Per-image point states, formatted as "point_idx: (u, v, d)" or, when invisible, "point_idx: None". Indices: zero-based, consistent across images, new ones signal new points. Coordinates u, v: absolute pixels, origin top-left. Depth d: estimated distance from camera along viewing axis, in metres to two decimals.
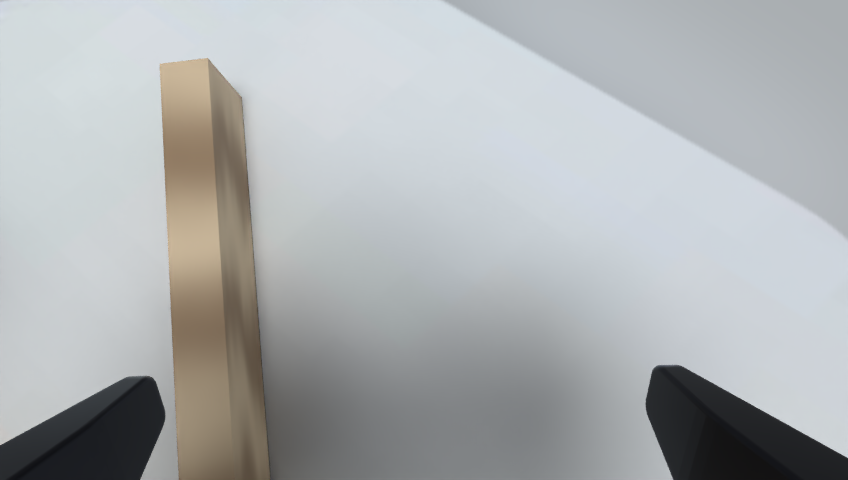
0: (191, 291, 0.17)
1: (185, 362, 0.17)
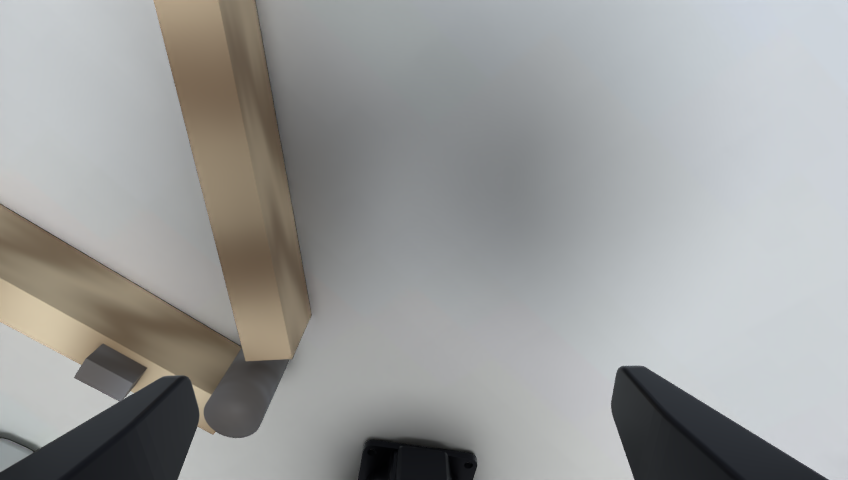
0: (189, 42, 0.14)
1: (198, 127, 0.15)
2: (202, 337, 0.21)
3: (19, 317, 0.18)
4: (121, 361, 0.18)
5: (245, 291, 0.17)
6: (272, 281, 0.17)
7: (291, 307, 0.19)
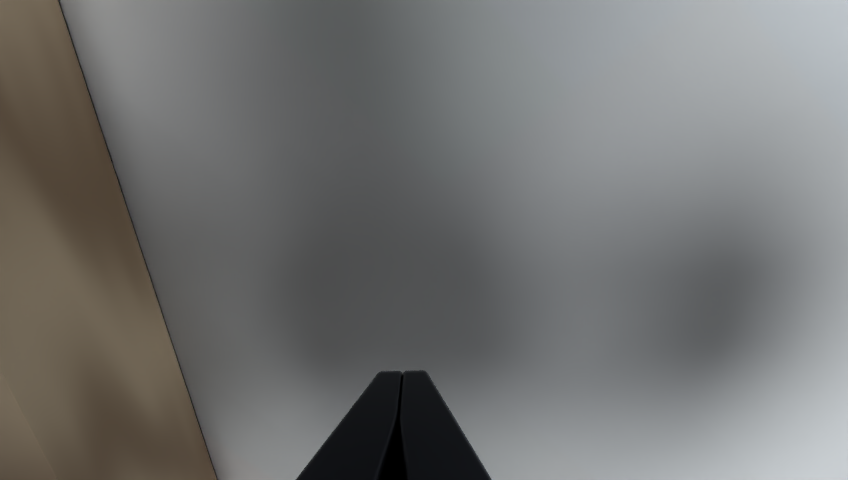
0: None
1: None
2: None
3: None
4: None
5: None
6: None
7: None
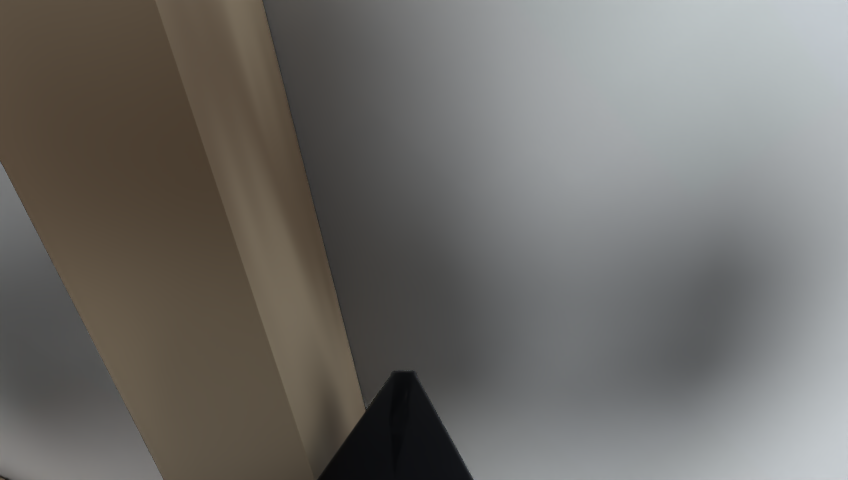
0: None
1: (99, 272, 0.05)
2: None
3: None
4: None
5: None
6: None
7: None
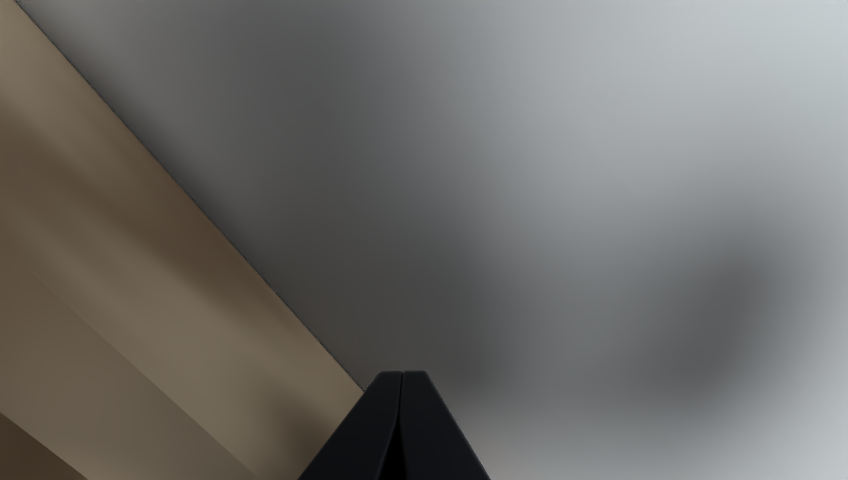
0: None
1: None
2: None
3: None
4: None
5: None
6: None
7: None
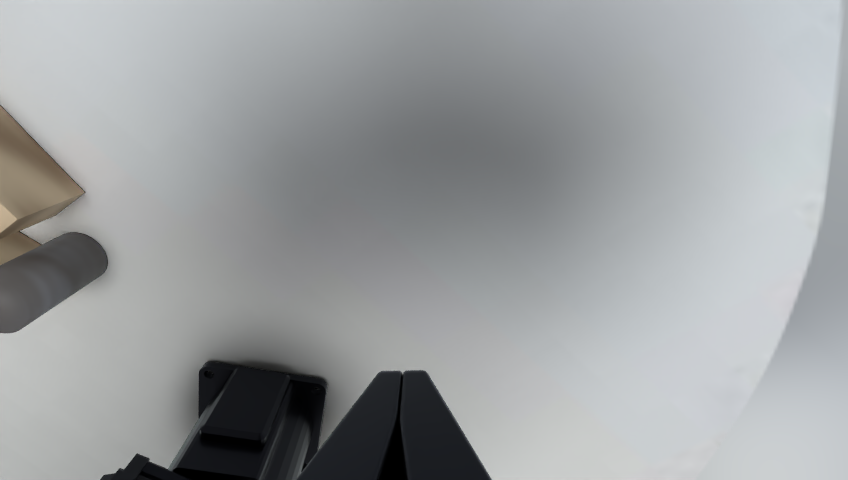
0: None
1: None
2: None
3: None
4: None
5: None
6: None
7: None
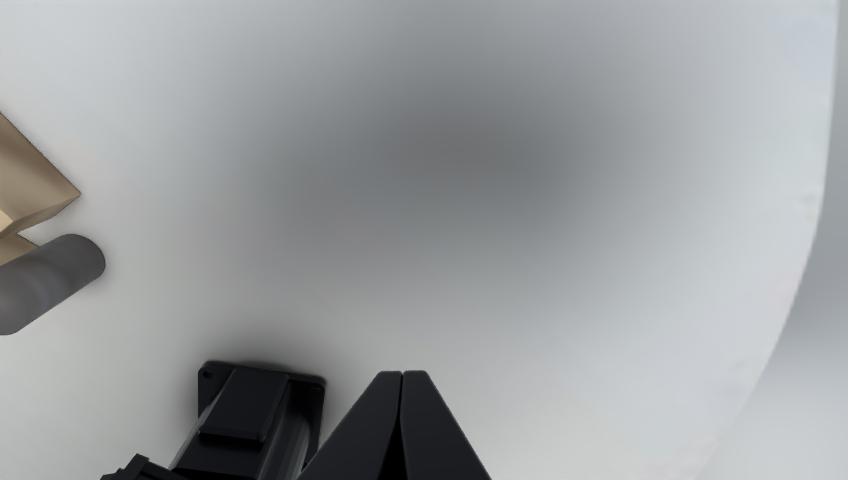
0: None
1: None
2: None
3: None
4: None
5: None
6: None
7: None
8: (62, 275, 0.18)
